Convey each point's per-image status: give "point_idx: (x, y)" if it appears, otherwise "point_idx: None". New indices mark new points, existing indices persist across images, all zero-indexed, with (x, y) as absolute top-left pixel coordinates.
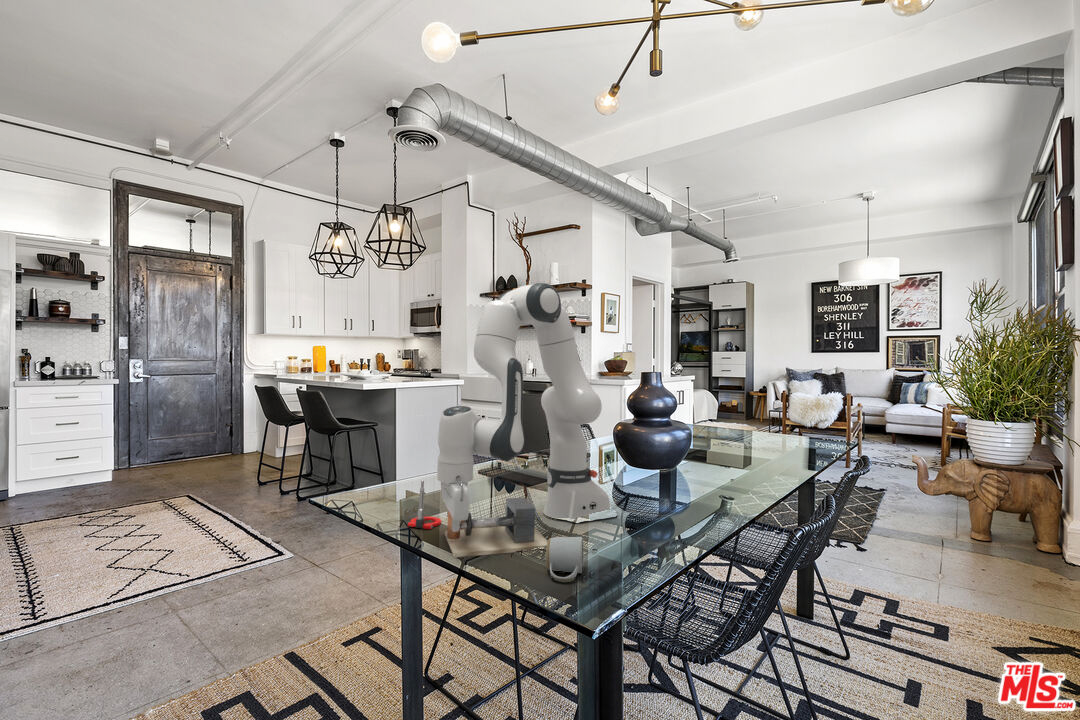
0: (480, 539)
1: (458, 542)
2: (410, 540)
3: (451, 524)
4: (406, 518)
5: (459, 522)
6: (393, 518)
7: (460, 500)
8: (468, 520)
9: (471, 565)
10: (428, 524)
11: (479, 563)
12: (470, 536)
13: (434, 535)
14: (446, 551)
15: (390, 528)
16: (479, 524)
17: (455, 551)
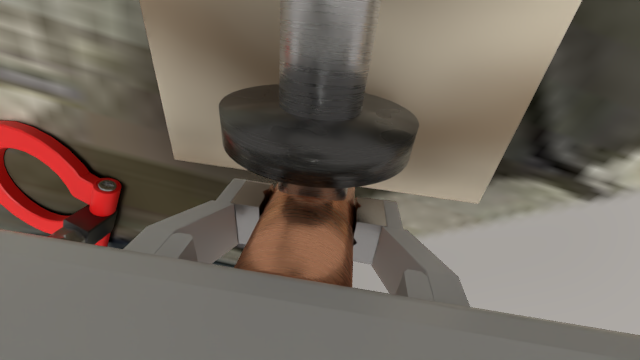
0: None
1: None
2: (234, 263)
3: (357, 255)
4: (7, 223)
5: (420, 246)
6: None
7: (154, 323)
8: (399, 168)
9: (615, 155)
10: (101, 202)
11: (629, 111)
12: (276, 54)
13: (190, 189)
14: (385, 198)
15: None
16: (376, 22)
17: (459, 193)
